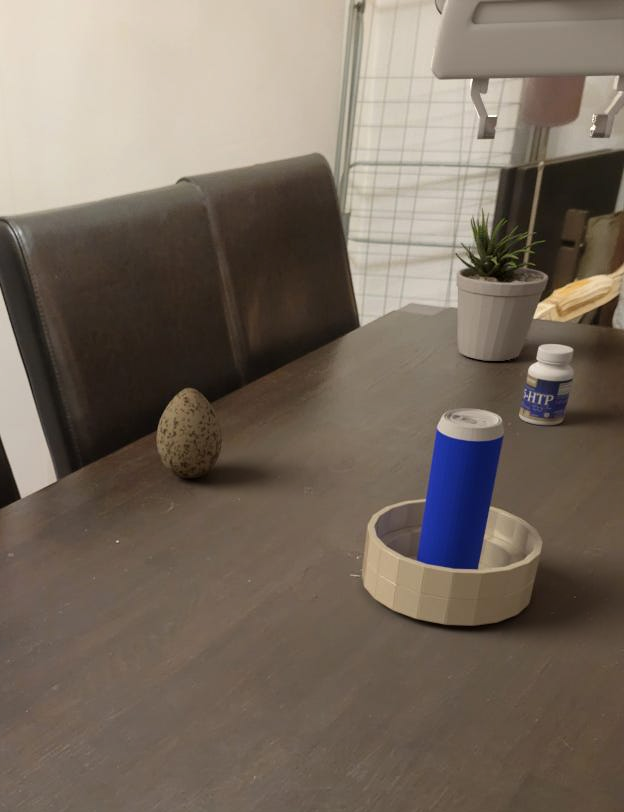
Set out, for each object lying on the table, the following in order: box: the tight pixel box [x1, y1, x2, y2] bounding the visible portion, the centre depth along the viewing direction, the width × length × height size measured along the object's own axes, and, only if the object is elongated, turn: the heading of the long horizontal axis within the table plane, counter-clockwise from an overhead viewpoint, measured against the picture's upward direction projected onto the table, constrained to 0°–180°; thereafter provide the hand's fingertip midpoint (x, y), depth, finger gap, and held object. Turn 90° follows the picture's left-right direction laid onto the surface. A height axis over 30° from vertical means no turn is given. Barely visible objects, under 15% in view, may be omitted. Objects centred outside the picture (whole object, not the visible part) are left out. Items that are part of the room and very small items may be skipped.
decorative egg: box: [156, 387, 223, 479], centre depth 104 cm, size 7×7×10 cm
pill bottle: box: [518, 343, 575, 426], centre depth 118 cm, size 5×5×9 cm
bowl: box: [361, 498, 544, 627], centre depth 83 cm, size 14×14×6 cm
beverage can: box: [417, 407, 505, 570], centre depth 80 cm, size 5×5×15 cm
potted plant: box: [455, 207, 549, 361], centre depth 139 cm, size 13×14×20 cm
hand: (541, 138), depth 84 cm, fingers open, 8 cm apart
